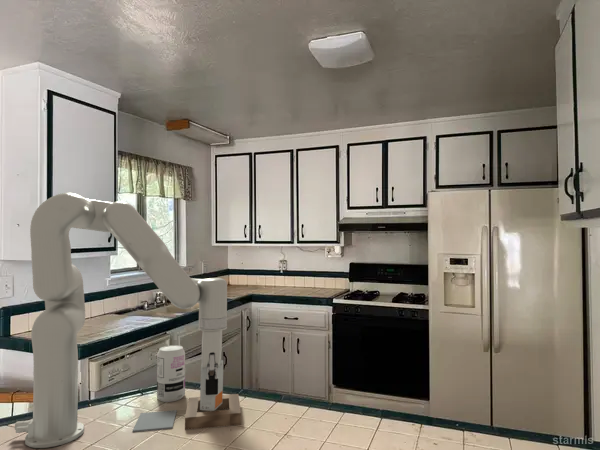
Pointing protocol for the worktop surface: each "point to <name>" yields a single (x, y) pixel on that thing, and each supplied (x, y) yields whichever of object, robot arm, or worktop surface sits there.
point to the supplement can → (170, 373)
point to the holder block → (213, 413)
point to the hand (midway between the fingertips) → (212, 388)
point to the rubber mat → (155, 421)
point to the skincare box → (211, 400)
